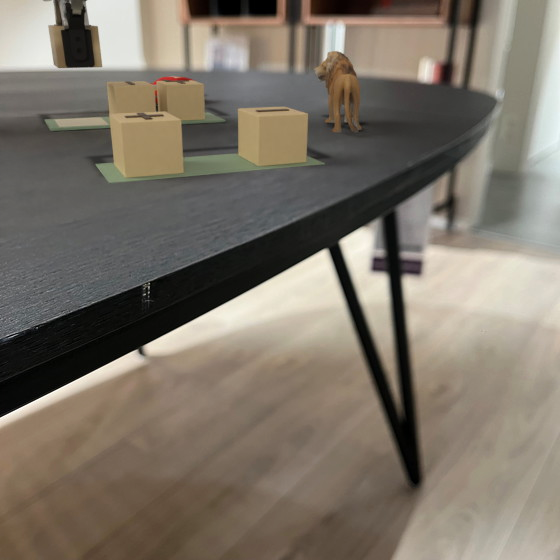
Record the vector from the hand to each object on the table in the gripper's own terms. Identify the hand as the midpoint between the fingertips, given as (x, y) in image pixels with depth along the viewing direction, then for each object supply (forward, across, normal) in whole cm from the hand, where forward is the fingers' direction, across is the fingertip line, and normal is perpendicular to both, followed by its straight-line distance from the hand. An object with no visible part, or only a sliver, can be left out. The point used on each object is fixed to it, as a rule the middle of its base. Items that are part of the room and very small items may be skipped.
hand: (77, 63), depth 69 cm
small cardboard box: (0, 0, 0) cm, 0 cm away
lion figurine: (+8, +11, +31) cm, 33 cm away
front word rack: (+7, +27, +8) cm, 29 cm away
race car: (+8, -16, +16) cm, 24 cm away
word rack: (+7, 0, +7) cm, 10 cm away
